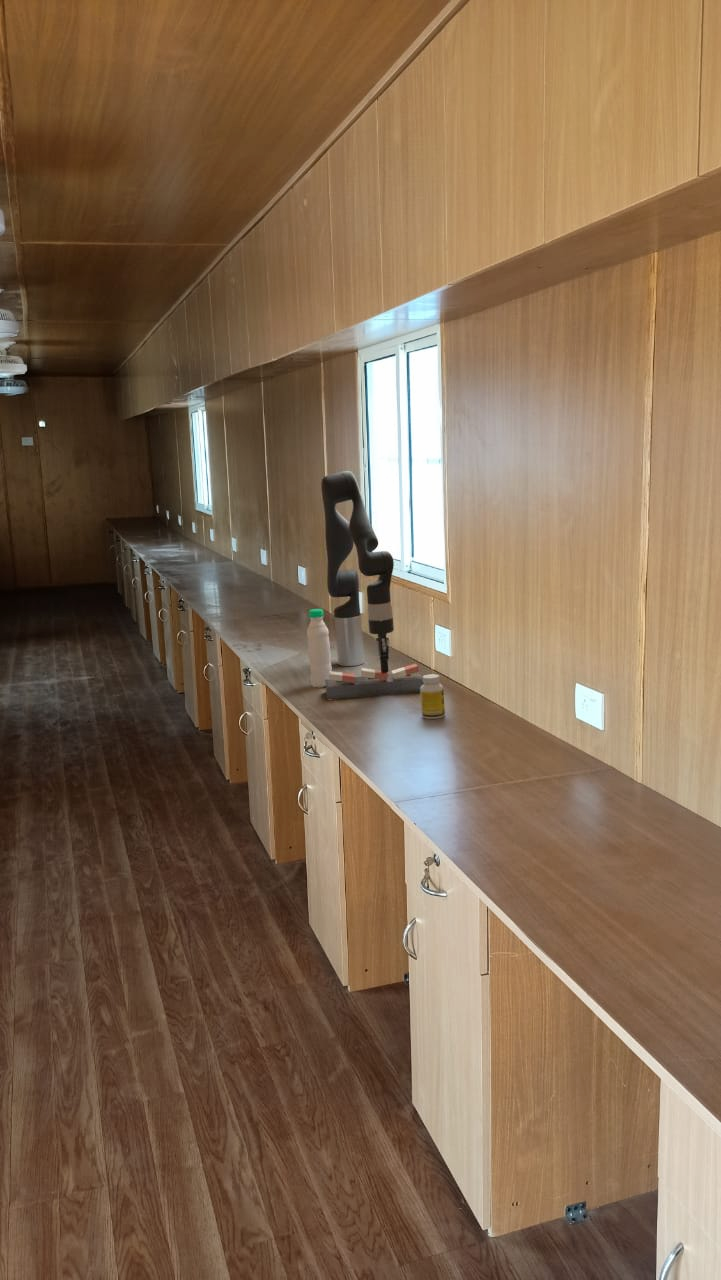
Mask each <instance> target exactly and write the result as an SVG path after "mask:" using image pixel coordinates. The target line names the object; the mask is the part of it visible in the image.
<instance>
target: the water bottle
mask: <svg viewBox="0 0 721 1280" xmlns="http://www.w3.org/2000/svg"><path fill="white" fill-rule="evenodd" d="M308 616H309V617H308V618H309V619H310V623H309V624H308V627H307V631H306V636H307V649H308V659H309V664H310V665H309V672H310V684H311V686H312V687H313V686H315V687H314V688H326V687H325V686H326V684H325V680H328V679H329V671H333V668H332V663H331V660H332V659H331V646H330V645H331V644H330V638H329V628H328V627H327V625H326V623H325V621H324V620H323V618H324V610H323V609H322V608H313V609H310V610H309V611H308Z"/></svg>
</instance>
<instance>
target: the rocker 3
mask: <svg viewBox="0 0 721 1280" xmlns="http://www.w3.org/2000/svg"><path fill="white" fill-rule="evenodd" d="M419 671H420V669H419V666H418V665H417V663H413V664H409V665H407V666H403V667H399V668H395V669H393V670H391V674H392V675H393V677H394V679H396V678H400V677H403V676H406V675H410V674H413V673H416V672H419Z"/></svg>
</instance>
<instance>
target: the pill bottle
mask: <svg viewBox="0 0 721 1280" xmlns="http://www.w3.org/2000/svg"><path fill="white" fill-rule="evenodd" d="M422 677H423V682H424V684H423V685H422V686H421V688H420V692H419V693H420V704H421V717H423V718H425V719H426V720H436V719H441V718H443V717H445V715H446V708H445V706H446V705H445V695H444V694H445V693H444V692H445V690H444V686H443V685H442V684H441V683H440V680H441V679H440V678H441V677H440V675H439V674H434V673H433V674H432V673H431V674H430V673H429V674H425V675H422Z"/></svg>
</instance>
